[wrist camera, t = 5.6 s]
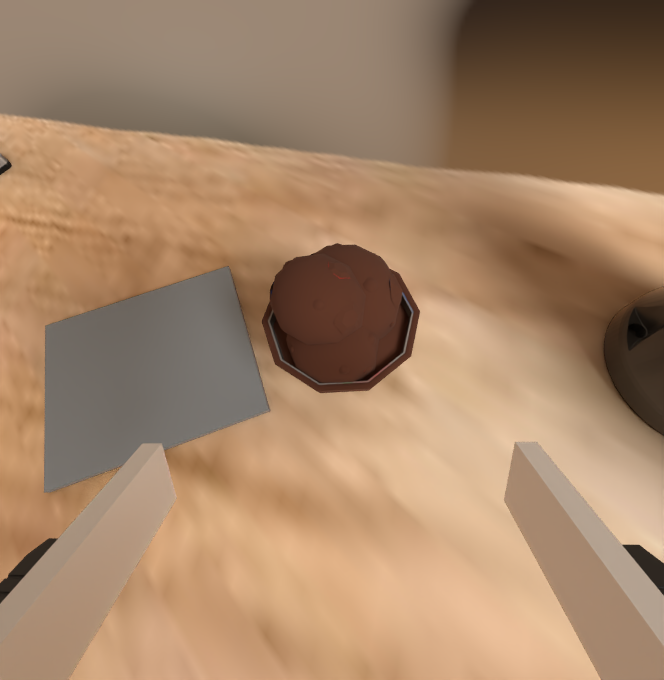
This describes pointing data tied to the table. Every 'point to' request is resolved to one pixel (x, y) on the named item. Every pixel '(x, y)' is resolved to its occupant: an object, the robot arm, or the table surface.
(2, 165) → the external hard drive
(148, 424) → the grey mat
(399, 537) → the table surface
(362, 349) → the ice cream bowl
